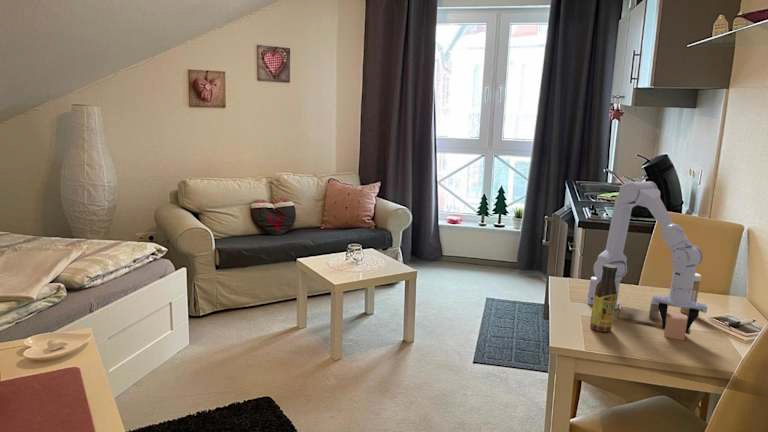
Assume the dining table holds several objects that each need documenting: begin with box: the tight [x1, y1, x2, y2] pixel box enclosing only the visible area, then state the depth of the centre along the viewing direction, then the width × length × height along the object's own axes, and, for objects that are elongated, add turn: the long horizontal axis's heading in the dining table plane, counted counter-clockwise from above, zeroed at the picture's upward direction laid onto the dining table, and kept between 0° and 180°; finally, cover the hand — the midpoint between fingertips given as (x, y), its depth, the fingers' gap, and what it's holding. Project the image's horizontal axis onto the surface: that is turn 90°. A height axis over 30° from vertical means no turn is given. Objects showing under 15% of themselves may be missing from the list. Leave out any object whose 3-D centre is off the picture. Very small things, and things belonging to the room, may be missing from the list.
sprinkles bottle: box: [679, 272, 702, 315], centre depth 195 cm, size 5×5×13 cm
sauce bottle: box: [589, 264, 617, 333], centre depth 176 cm, size 6×6×20 cm
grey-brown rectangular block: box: [617, 300, 690, 334], centre depth 187 cm, size 20×11×6 cm, turn 64°
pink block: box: [663, 311, 688, 341], centre depth 176 cm, size 5×5×6 cm
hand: (674, 330), depth 176 cm, fingers closed on pink block, 5 cm apart
